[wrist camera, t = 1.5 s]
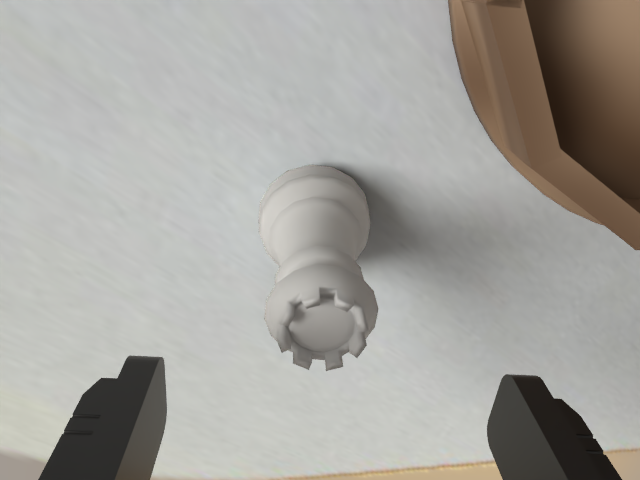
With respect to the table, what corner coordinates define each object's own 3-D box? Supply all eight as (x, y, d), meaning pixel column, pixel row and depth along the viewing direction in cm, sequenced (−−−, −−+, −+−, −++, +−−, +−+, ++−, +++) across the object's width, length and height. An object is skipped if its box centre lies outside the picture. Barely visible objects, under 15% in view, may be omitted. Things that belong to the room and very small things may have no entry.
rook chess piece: (307, 137, 19) (314, 230, 12) (390, 206, 21) (439, 325, 14) (236, 219, 21) (206, 344, 14) (319, 278, 22) (330, 419, 15)
